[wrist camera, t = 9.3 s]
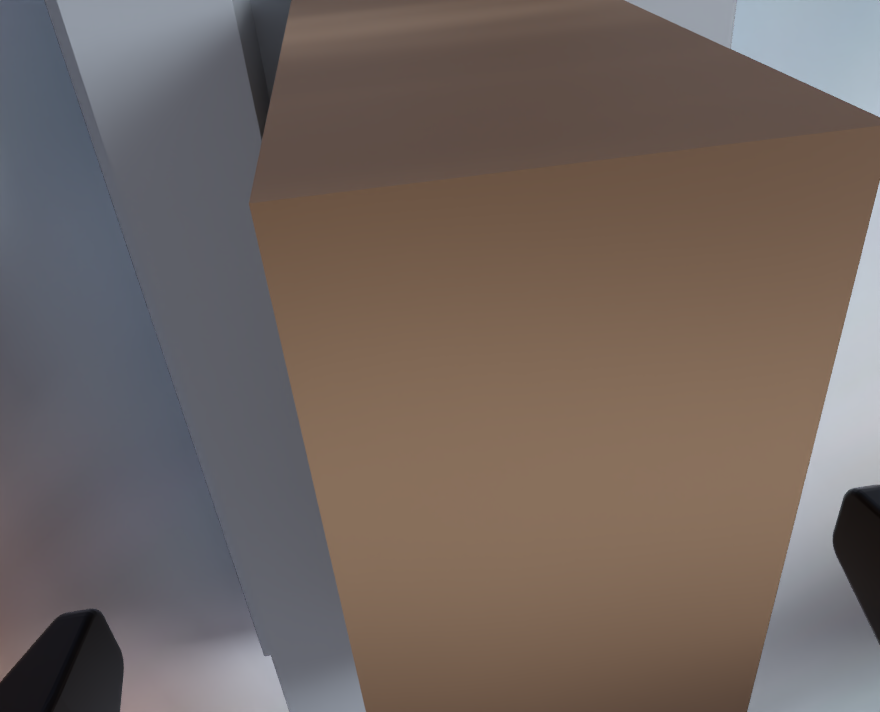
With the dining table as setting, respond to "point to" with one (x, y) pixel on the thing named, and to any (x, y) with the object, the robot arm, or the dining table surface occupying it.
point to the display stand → (230, 285)
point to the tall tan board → (554, 339)
